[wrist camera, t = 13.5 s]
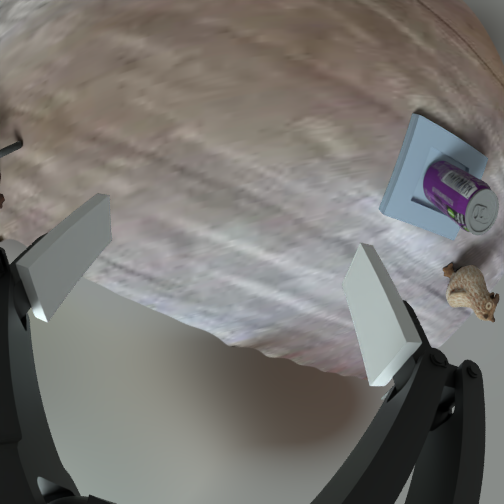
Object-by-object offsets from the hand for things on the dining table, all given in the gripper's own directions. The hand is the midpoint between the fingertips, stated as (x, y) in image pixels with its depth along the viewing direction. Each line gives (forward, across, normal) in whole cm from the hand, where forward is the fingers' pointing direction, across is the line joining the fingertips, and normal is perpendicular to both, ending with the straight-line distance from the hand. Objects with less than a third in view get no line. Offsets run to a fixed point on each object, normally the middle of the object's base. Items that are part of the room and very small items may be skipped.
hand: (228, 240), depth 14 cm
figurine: (+26, +43, -12) cm, 52 cm away
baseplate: (+26, +29, +3) cm, 39 cm away
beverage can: (+25, +29, +3) cm, 38 cm away
